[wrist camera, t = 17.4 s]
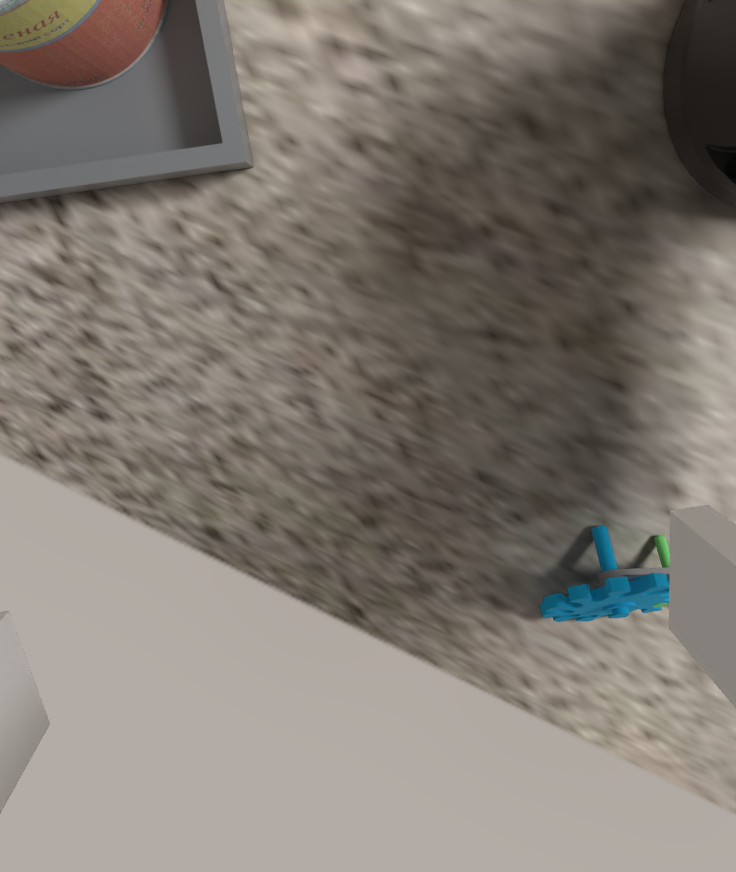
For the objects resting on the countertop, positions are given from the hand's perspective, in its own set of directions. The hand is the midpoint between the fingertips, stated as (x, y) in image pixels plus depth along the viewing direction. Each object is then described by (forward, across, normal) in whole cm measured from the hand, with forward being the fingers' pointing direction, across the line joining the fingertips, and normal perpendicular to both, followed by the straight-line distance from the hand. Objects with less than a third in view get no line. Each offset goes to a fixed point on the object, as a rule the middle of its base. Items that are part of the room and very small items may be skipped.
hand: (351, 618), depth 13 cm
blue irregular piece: (+29, +16, -18) cm, 38 cm away
